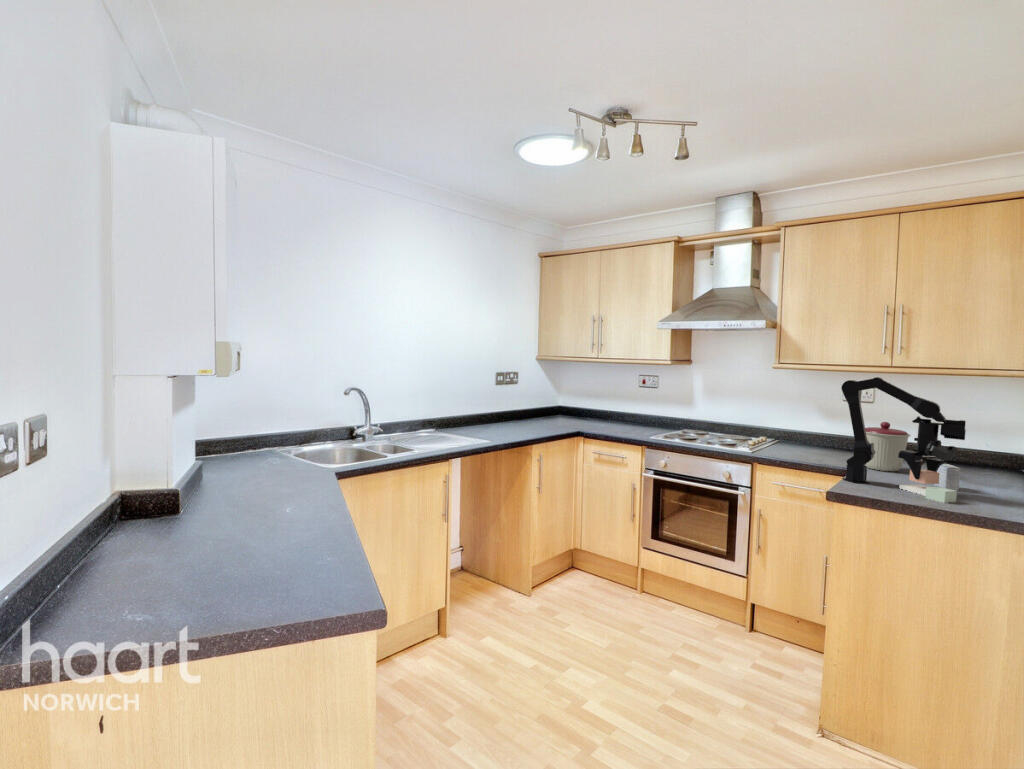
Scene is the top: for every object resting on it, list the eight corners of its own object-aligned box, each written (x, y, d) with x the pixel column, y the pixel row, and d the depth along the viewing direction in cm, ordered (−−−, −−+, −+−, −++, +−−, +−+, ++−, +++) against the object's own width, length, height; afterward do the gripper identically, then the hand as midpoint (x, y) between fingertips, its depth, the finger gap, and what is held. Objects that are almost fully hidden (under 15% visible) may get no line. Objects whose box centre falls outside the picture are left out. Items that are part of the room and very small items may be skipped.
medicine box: (959, 491, 195) (961, 467, 195) (945, 489, 196) (947, 467, 196) (946, 486, 203) (948, 463, 202) (932, 485, 204) (934, 462, 203)
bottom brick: (909, 479, 193) (910, 469, 193) (922, 479, 194) (923, 469, 194) (925, 484, 187) (926, 472, 187) (938, 483, 188) (939, 472, 188)
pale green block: (944, 503, 176) (945, 491, 176) (924, 498, 182) (925, 487, 181) (955, 502, 178) (956, 490, 178) (936, 497, 184) (937, 486, 183)
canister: (883, 474, 221) (887, 424, 220) (847, 465, 239) (851, 419, 238) (918, 473, 225) (922, 425, 224) (880, 465, 243) (884, 419, 241)
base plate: (925, 496, 185) (926, 491, 185) (899, 488, 194) (899, 484, 194) (948, 495, 187) (948, 491, 187) (920, 488, 197) (920, 484, 197)
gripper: (929, 439, 180) (925, 485, 181) (971, 440, 184) (967, 484, 185) (898, 434, 190) (895, 477, 191) (939, 435, 195) (935, 476, 196)
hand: (923, 479), depth 190 cm, fingers closed on bottom brick, 6 cm apart
